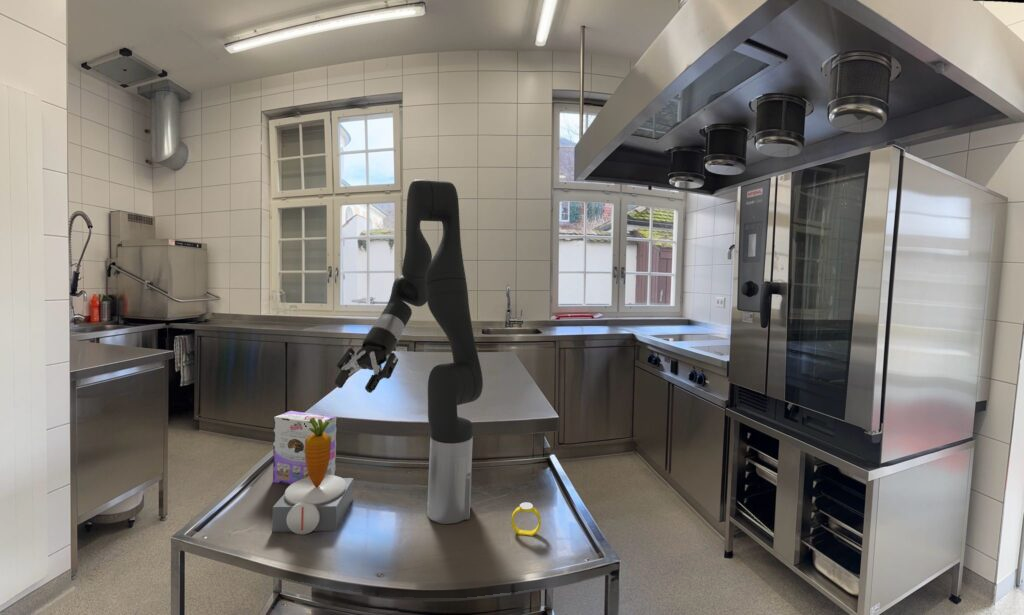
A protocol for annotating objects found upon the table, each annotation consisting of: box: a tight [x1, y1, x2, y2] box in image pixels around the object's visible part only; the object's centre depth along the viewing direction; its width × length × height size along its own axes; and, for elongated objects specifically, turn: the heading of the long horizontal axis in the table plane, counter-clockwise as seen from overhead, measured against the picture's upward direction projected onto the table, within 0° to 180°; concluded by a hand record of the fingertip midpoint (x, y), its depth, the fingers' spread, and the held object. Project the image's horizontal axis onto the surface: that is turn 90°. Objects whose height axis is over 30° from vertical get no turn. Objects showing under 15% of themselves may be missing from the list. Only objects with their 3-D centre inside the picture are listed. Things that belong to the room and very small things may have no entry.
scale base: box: [271, 477, 354, 535], centre depth 85 cm, size 12×13×6 cm
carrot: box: [305, 418, 331, 487], centre depth 85 cm, size 5×5×15 cm
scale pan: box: [284, 475, 346, 505], centre depth 86 cm, size 12×12×1 cm
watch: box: [510, 502, 542, 537], centre depth 83 cm, size 6×3×6 cm, turn 84°
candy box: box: [272, 410, 338, 486], centre depth 99 cm, size 14×6×16 cm, turn 77°
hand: (352, 388), depth 94 cm, fingers open, 8 cm apart
